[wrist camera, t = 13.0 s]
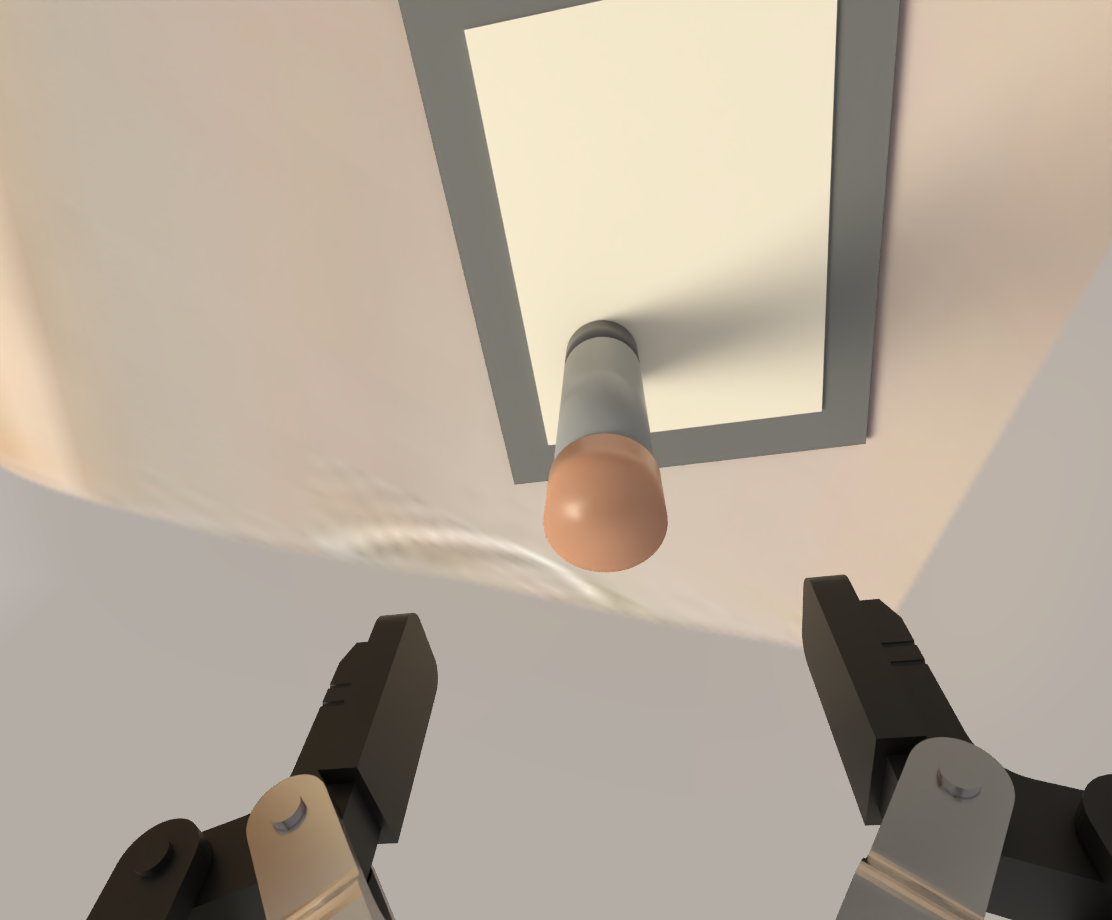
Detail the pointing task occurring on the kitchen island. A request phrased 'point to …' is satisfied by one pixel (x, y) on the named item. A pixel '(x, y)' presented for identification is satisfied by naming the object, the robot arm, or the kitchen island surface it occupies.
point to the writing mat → (669, 206)
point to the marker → (604, 457)
